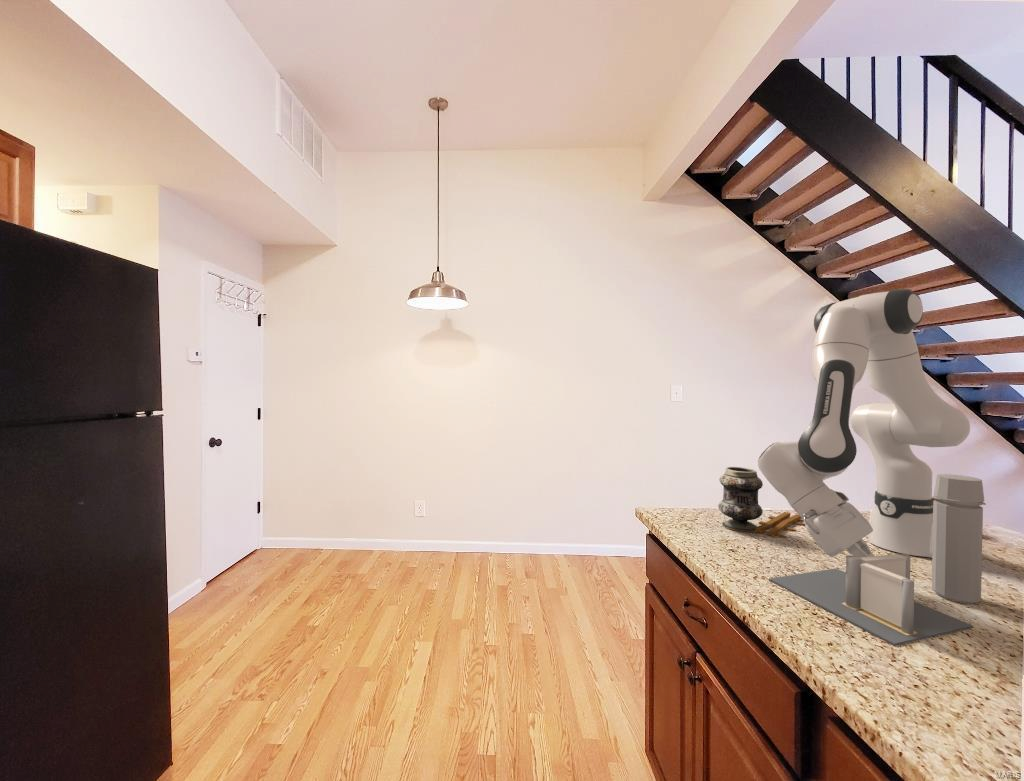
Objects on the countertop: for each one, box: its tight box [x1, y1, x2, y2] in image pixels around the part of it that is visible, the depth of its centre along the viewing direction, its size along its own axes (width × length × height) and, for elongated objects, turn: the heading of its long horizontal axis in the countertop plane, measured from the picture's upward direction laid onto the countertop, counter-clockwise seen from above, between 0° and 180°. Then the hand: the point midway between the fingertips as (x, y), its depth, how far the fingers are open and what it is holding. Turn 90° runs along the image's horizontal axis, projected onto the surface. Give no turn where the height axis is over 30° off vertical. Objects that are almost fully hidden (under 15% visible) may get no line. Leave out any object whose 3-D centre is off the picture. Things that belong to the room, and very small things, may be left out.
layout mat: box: [768, 567, 974, 647], centre depth 87 cm, size 20×25×1 cm
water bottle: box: [931, 473, 987, 605], centre depth 90 cm, size 9×8×25 cm
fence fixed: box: [845, 554, 915, 634], centre depth 80 cm, size 2×11×10 cm, turn 16°
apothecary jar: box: [717, 466, 764, 533], centre depth 132 cm, size 12×12×18 cm
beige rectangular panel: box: [859, 553, 912, 580], centre depth 86 cm, size 2×11×9 cm, turn 100°
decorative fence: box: [755, 511, 806, 539], centre depth 134 cm, size 25×2×10 cm
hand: (873, 563), depth 90 cm, fingers closed
